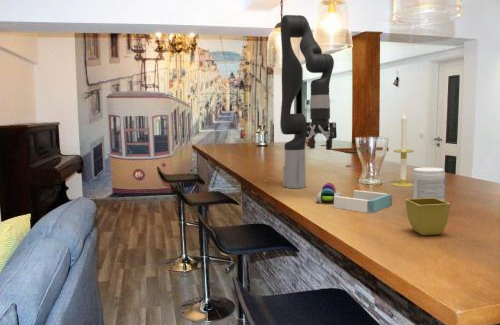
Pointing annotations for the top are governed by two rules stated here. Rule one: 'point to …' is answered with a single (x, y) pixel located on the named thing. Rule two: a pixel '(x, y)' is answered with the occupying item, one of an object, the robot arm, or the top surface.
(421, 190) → the supplement tub
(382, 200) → the bay
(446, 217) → the flower pot
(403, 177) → the candle
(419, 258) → the top surface
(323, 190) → the multicoloured petal flower toy
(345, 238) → the top surface
